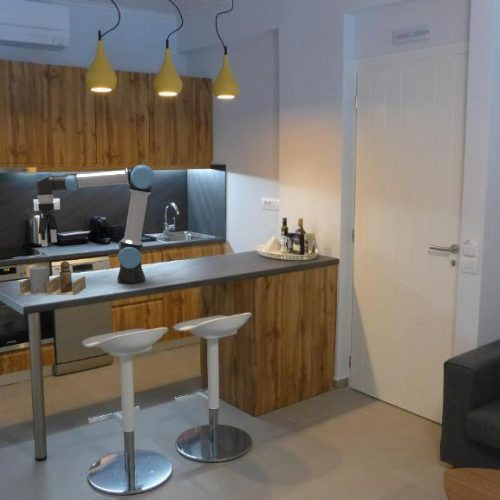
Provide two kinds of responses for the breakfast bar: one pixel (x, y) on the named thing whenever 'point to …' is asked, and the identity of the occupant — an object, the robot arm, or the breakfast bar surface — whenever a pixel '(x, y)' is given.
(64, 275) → the pepper mill
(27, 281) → the rack
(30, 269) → the grey notched block
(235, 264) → the breakfast bar surface
